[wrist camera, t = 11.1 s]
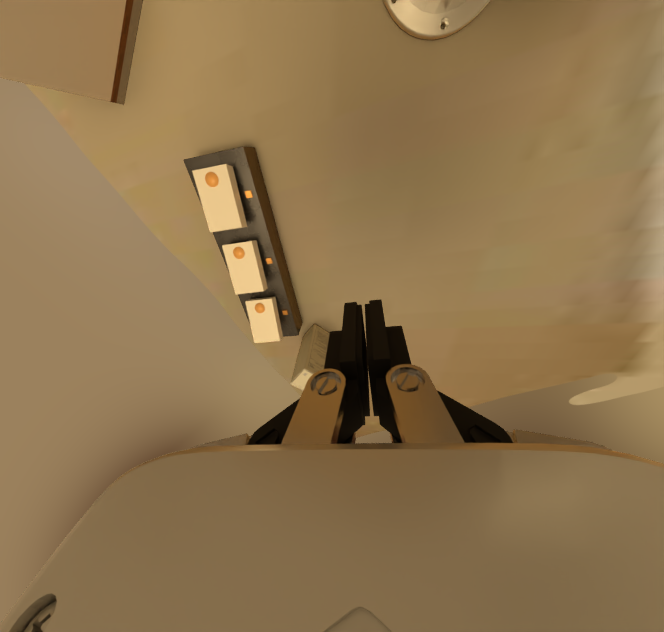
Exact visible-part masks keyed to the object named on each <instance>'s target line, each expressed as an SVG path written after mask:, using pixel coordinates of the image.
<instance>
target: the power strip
mask: <svg viewBox="0 0 664 632" xmlns="http://www.w3.org/2000/svg"><path fill="white" fill-rule="evenodd" d="M184 163H185V165H186V168H187V170H188V173H189V175H190V178H191V180H192V182H193V185H194V187H195V190H196V192H197V195H198V197H199V200H200V196H199V193H198V189H197V186H196V182H195V179H194V176H193V172H192V171H194V170H199V169H203V168H208V167H213V166H218V165H223V164H228V165H230V166H233V170H234V174H235V178H236V182H237V186H238V190H239V194H240V199H241V203H242V207H243V211H244V215H245V219H246V223H247V227H244V228H238V229H231V230H225V231H219V232H213V234H214V237H215V239H216V242H217V244H218V247H219V249H220V252H221V254H222V256H223V259H224V261H225V264H226V266H227V262H226V259H225V255H224V251H223V248H222V245H228V244H234V243H241V242H248V241H254V240H257V245H258V249H259V253H260V258H261V262H262V266H263V270H264V275H265V279H266V283H267V287H268V289H266V290H265V291H262V292H253V293H244V294H238V296H239V298H240V301H241V303H242V306H243V308H244V311H245V313H246V316H247V318H248V321H249V316H248V312H247V307H246V303H245V301H247V300H249V299H257V298H266V297H275V298H276V303H277V308H278V313H279V318H280V324H281V329H282V334H283V337H284V336H296V335H299V332H300V329H301V326H302V319H301V315H300V312H299V308H298V304H297V301H296V297H295V293H294V290H293V286H292V282H291V279H290V275H289V271H288V268H287V264H286V260H285V257H284V253H283V249H282V246H281V242H280V238H279V235H278V231H277V227H276V224H275V220H274V216H273V213H272V209H271V205H270V202H269V198H268V194H267V191H266V187H265V183H264V180H263V176H262V172H261V169H260V165H259V161H258V158H257V154H256V150H255V148H254V147H239V148H235V149H230V150H226V151H221V152H216V153H212V154H207V155H203V156H198V157H193V158H189V159H184ZM200 202H201V200H200ZM201 205H202V203H201ZM202 207H203V206H202ZM227 269H228V266H227ZM228 271H229V269H228ZM229 274H230V273H229ZM249 323H250V321H249Z"/></svg>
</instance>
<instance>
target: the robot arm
mask: <svg viewBox="0 0 664 632" xmlns="http://www.w3.org/2000/svg"><path fill="white" fill-rule="evenodd" d="M383 1H384V4H385V6H386V8H387V10H388V12H389V14H390V15H391V17H392V19H393V20H394V21H395V22H396V23H397V25H398V26H399V27H400V28H401V29H402V30H404V31H405V32H407V33H408V34H409V35H411V36H414V37H417V38H420V39H427V40H434V39H440V38H445V37H447V36H449V35H451V34H454V33H456V32H458V31H459V30H461V29H462V28H463V27H465V26H466V25H468V24H469V23H470V22H471V21H472V20H473V19H474V18H475V17H476V16H477V15H478V14H479V13H480V12H481V11H482V10H483V9H484V8H485V6H486V5H487V4H488V3H489V2H490V0H396V3H392V2H391V0H383ZM441 24H444V26H445V28H444V29H443V30H442V29H441V28H440V25H441ZM369 303H370V304H365V317H366V339H365V330H364V322H363V314H362V306H361V305H357V302H352V303H345V305H344V316H343V326H342V331H332V332H330V335H329V341H328V347H327V353H326V359H325V365H324V369H323V370H319V371H317V372H315V373H314V374H313V375H312V376H310V378H309V379H308V381H307V383H306V385H305V388H304V390H303V393H302V395H301V397H300V399H299V400H297V401H296V402H294V403H293V404H291V405H290V406H289V407H287V408H286V409H285V410H283V411H282V412H280V413H279V414H278V415H276V416H275V417H274V418H272V419H271V420H270V421H268V422H267V423H266V424H264V425H263V426H262V427H260V428H259V429H258V430H257V431H256V432H254V434H253V435H251V436H248V434H247V433H246V434H242V435H238V436H234V437H230V438H226V439H221V440H217V441H213V442H209V443H205V444H201V445H197V446H194V447H192V448H190V449H187V450H181V451H177V452H173V453H169V454H166V455H163V456H160V457H157V458H155V459H152V460H149V461H147V462H145V463H143V464H140V465H138V466H136V467H135V468H133V469H131V470H129V471H127V472H126V473H125V474H123V475H122V476H120V477H119V478H118V479H117V480H116V481H115V482H113V483H112V484H111V485H110V486H109V487H108V488H107V489H106V490H105V491H104V492H103V493H102V495H101V496H100V497H99V498H98V499H97V500H96V501H95V502H94V504H93V505H92V506H91V507H90V508H89V509H88V511H87V512H86V513H85V514H84V515H83V517H82V518H81V519H80V520H79V522H78V523H77V524H76V525H75V527H74V528H73V529H72V530H71V531H70V533H69V534H68V535H67V536H66V538H65V539H64V540H63V541H62V543H61V544H60V545H59V546H58V548H57V549H56V551H55V552H54V553H53V554H52V556H51V557H50V558H49V560H48V561H47V562H46V563H45V565H44V566H43V567H42V569H41V570H40V571H39V573H38V574H37V575H36V577H35V578H34V579H33V580H32V582H31V583H30V584H29V586H28V587H27V588H26V589H25V591H24V592H23V594H22V595H21V596H20V597H19V599H18V600H17V601H16V603H15V604H14V606H13V607H12V608H11V609H10V611H9V612H8V614H7V615H6V616H5V618H4V619H3V620H2V622H1V623H0V632H664V464H663V463H660V462H656V461H653V460H649V459H645V458H641V457H638V456H635V455H631V454H627V453H621V452H616V451H612V450H611V449H608V448H607V447H605V446H603V445H599V444H596V443H593V442H588V441H582V440H576V439H570V438H564V437H558V436H552V435H546V434H541V433H535V432H529V431H522V430H517V429H514V431H513V432H508V431H505V430H504V429H503V428H501V427H500V426H498V425H497V424H495V423H494V422H492V421H490V420H489V419H487V418H485V417H483V416H482V415H479V414H478V413H476V412H474V411H473V410H471V409H469V408H467V407H466V406H464V405H462V404H460V403H459V402H457V401H455V400H453V399H451V398H450V397H448V396H446V395H444V394H443V393H441V392H439V391H437V390H436V388H435V386H434V385H433V383H432V381H431V379H430V377H429V375H428V374H427V373H426V371H424V370H423V369H422V368H420V367H418V366H415V365H411V361H410V357H409V353H408V349H407V345H406V341H405V337H404V333H403V329H402V326H392V327H385V321H384V314H383V308H382V301H381V300H371V301H369ZM366 342H367V347H366ZM368 371H369V379H370V387H371V395H372V403H373V411H374V416H379V419H380V425H381V426H382V427H384V428H385V429H386V430H387V431H389V432H390V438H391V441H392V443H376V444H375V443H371V444H369V443H368V444H367V443H363V444H362V443H361V444H355V441H356V431H357V430H358V429H359V428H360V427H361V426H362V425H365V416H370V406H369V382H368Z"/></svg>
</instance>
